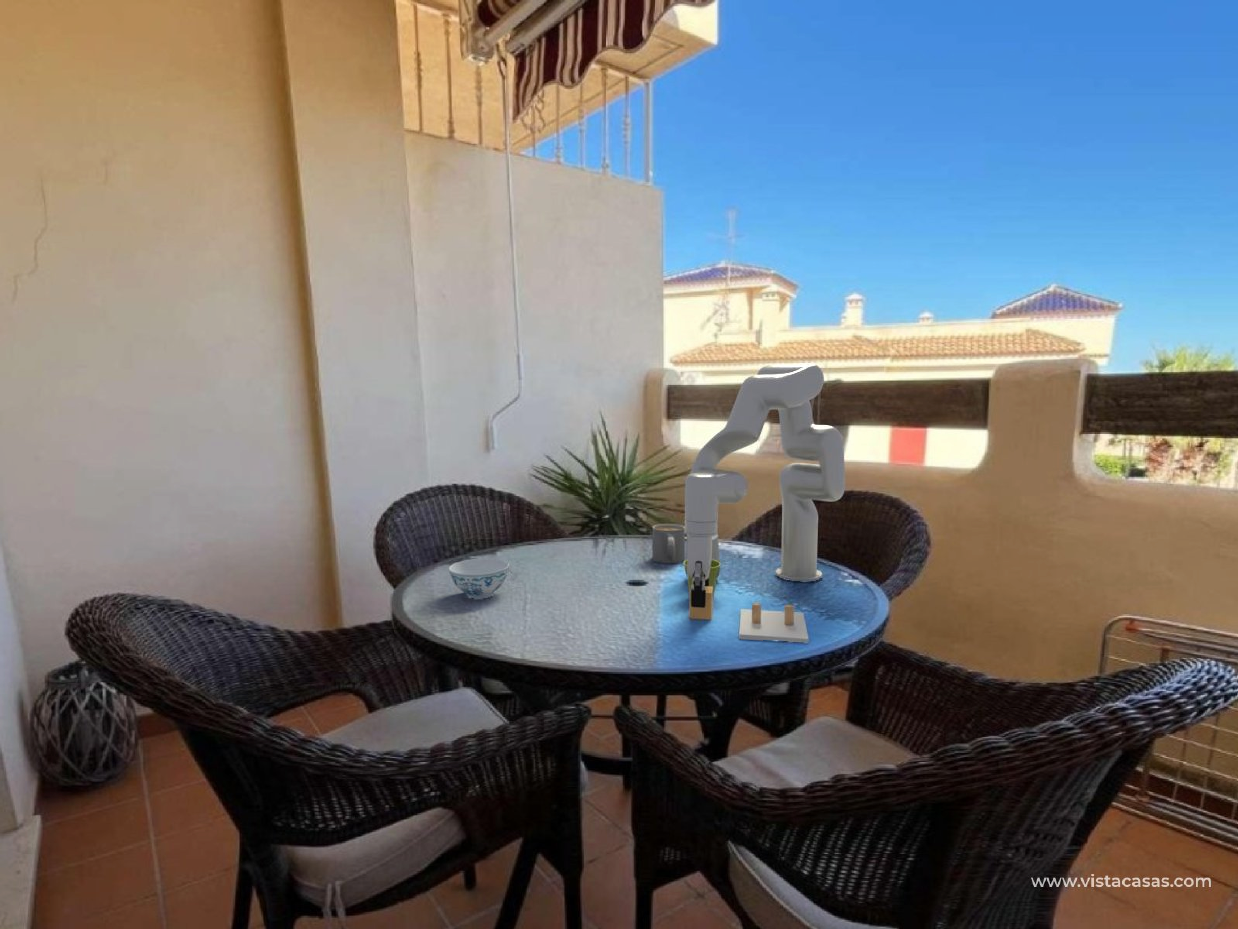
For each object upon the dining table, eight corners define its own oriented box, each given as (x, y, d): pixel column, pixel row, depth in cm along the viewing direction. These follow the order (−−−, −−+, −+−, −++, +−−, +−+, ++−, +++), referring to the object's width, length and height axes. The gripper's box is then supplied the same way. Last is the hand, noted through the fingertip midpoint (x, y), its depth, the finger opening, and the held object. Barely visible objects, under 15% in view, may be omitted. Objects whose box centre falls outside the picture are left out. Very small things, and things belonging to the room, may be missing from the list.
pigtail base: (741, 613, 153) (741, 592, 152) (803, 616, 150) (803, 595, 149) (739, 638, 137) (739, 615, 137) (808, 643, 134) (808, 620, 134)
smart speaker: (687, 585, 175) (687, 534, 173) (682, 575, 184) (682, 526, 182) (722, 584, 175) (723, 533, 173) (716, 575, 184) (716, 526, 183)
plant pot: (709, 588, 172) (709, 556, 171) (727, 599, 163) (727, 565, 162) (676, 593, 168) (676, 560, 167) (694, 604, 160) (694, 569, 159)
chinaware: (478, 583, 179) (477, 556, 178) (521, 591, 171) (520, 563, 170) (437, 599, 166) (436, 569, 165) (482, 608, 158) (480, 577, 157)
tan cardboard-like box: (691, 611, 155) (691, 585, 154) (712, 612, 154) (712, 586, 153) (689, 618, 150) (689, 592, 149) (711, 619, 149) (711, 593, 148)
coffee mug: (654, 554, 208) (654, 523, 207) (685, 555, 206) (685, 524, 205) (649, 565, 195) (648, 532, 194) (682, 566, 193) (682, 533, 192)
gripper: (688, 519, 158) (687, 588, 160) (680, 534, 142) (679, 611, 143) (719, 521, 157) (718, 590, 159) (715, 536, 140) (714, 613, 142)
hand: (700, 600), depth 151 cm, fingers open, 9 cm apart
